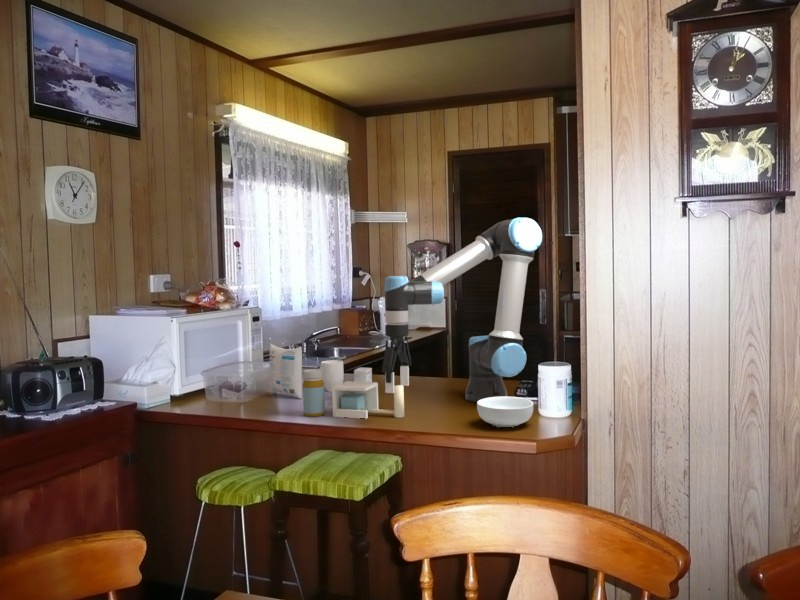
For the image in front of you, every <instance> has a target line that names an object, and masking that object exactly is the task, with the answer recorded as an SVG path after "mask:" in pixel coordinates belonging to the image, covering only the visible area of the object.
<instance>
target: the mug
mask: <svg viewBox="0 0 800 600" xmlns="http://www.w3.org/2000/svg"><path fill="white" fill-rule="evenodd" d="M318 369H321V370H322V380H323V383H324V388H325V389H326V391H327V392H329V393H332V390H333V387H334V386H336V385H339V384H341V383H344V377H345V376H344V360H340V359H339V360H338V359H335V360H334V359H331V360H323V361H321V362H320V367H319V368H318Z"/></svg>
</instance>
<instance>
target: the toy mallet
mask: <svg viewBox="0 0 800 600" xmlns="http://www.w3.org/2000/svg"><path fill="white" fill-rule="evenodd" d="M404 388H405V387H404V386H403V385H401V384H396V385H395V384H394V393H393V404H394V405H393V408H394V409H365V395H361V394H347V395H345V396H343V397H341V409H351V410H368V413H374V414H391V415H394V418H397V419H398V418H404V417H405V392H404V391H405V390H404Z"/></svg>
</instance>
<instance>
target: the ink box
mask: <svg viewBox="0 0 800 600" xmlns="http://www.w3.org/2000/svg"><path fill="white" fill-rule="evenodd" d="M372 369H373V368H372V367H357V368H355V369H354V370H353V382H373V372H372V371H373V370H372Z"/></svg>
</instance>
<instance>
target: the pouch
mask: <svg viewBox="0 0 800 600" xmlns="http://www.w3.org/2000/svg"><path fill="white" fill-rule="evenodd" d="M269 392H270V394H271V395H272V394H274V393H286V394H289V395H292V396H295V398H298V399H300V400H303V350H302V346H298V347H296V348H284V347H279V346H276V345H275V344H273V343H270V344H269Z"/></svg>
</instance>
